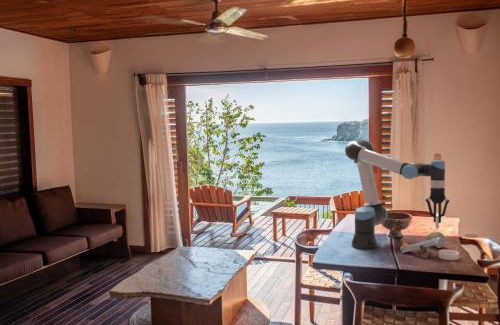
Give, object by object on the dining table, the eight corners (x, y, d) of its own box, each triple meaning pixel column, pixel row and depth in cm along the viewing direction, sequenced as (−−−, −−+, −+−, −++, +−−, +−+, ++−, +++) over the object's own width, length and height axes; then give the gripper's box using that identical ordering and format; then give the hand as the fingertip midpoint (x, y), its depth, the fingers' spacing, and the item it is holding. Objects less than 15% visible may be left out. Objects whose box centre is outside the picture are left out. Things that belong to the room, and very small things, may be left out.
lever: (401, 253, 263) (399, 249, 263) (406, 247, 276) (404, 242, 276) (436, 244, 253) (434, 239, 253) (440, 238, 266) (438, 233, 267)
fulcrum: (415, 256, 258) (415, 245, 257) (419, 250, 268) (419, 240, 267) (426, 257, 255) (427, 246, 254) (430, 252, 265) (430, 241, 264)
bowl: (437, 258, 253) (437, 253, 253) (439, 253, 262) (440, 248, 261) (457, 261, 248) (457, 255, 247) (459, 256, 257) (459, 250, 256)
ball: (402, 250, 265) (401, 244, 265) (403, 248, 268) (402, 242, 268) (408, 250, 263) (407, 244, 263) (409, 248, 266) (408, 242, 266)
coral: (439, 239, 267) (426, 229, 275) (434, 252, 272) (422, 242, 280) (450, 235, 271) (438, 226, 279) (445, 249, 276) (433, 239, 284)
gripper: (424, 187, 261) (424, 228, 263) (449, 188, 255) (448, 230, 257) (426, 185, 268) (426, 225, 270) (450, 186, 261) (450, 227, 263)
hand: (437, 228), depth 263 cm, fingers closed
